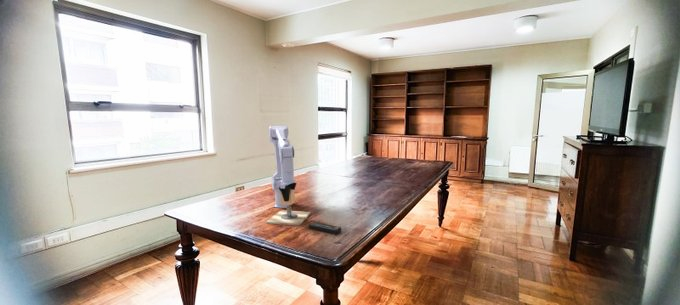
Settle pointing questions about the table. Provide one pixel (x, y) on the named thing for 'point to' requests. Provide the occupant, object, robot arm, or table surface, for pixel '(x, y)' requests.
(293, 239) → the table surface
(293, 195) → the collar
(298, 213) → the post board
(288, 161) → the robot arm
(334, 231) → the multiport hub
